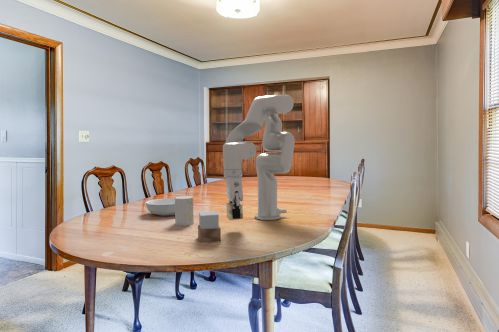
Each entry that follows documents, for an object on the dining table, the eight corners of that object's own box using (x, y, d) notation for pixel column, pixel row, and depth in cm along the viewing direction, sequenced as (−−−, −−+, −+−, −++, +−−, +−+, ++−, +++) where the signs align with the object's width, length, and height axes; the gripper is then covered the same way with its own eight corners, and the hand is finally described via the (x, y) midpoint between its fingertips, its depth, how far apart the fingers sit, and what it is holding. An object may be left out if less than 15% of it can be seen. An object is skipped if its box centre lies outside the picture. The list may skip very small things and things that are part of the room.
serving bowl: (195, 212, 171) (195, 199, 171) (165, 220, 153) (165, 206, 153) (168, 208, 182) (167, 196, 182) (137, 215, 165) (136, 202, 164)
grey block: (216, 224, 125) (216, 211, 125) (218, 228, 119) (218, 214, 119) (199, 225, 124) (199, 212, 124) (200, 229, 118) (200, 215, 117)
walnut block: (217, 236, 126) (217, 223, 126) (220, 241, 119) (220, 228, 119) (198, 237, 124) (197, 225, 124) (200, 243, 117) (200, 229, 117)
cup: (189, 226, 142) (189, 199, 141) (172, 225, 144) (171, 198, 143) (196, 221, 150) (195, 196, 149) (179, 221, 152) (179, 195, 151)
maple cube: (239, 215, 137) (239, 201, 136) (242, 218, 131) (242, 204, 131) (226, 217, 135) (226, 203, 135) (229, 220, 130) (229, 205, 129)
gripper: (247, 175, 124) (249, 220, 126) (236, 170, 141) (238, 210, 142) (228, 176, 122) (230, 222, 124) (220, 171, 139) (221, 212, 140)
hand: (234, 216), depth 133 cm, fingers closed on maple cube, 5 cm apart
